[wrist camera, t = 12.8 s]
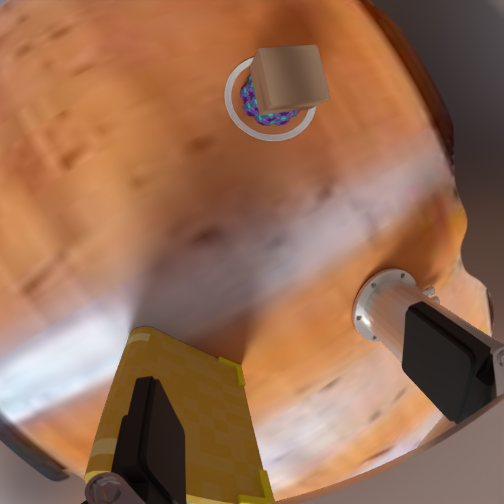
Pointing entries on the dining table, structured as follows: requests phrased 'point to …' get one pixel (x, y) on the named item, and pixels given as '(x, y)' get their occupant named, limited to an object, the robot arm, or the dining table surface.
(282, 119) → the pudding
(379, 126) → the dining table surface
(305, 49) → the walnut cube
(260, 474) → the book
